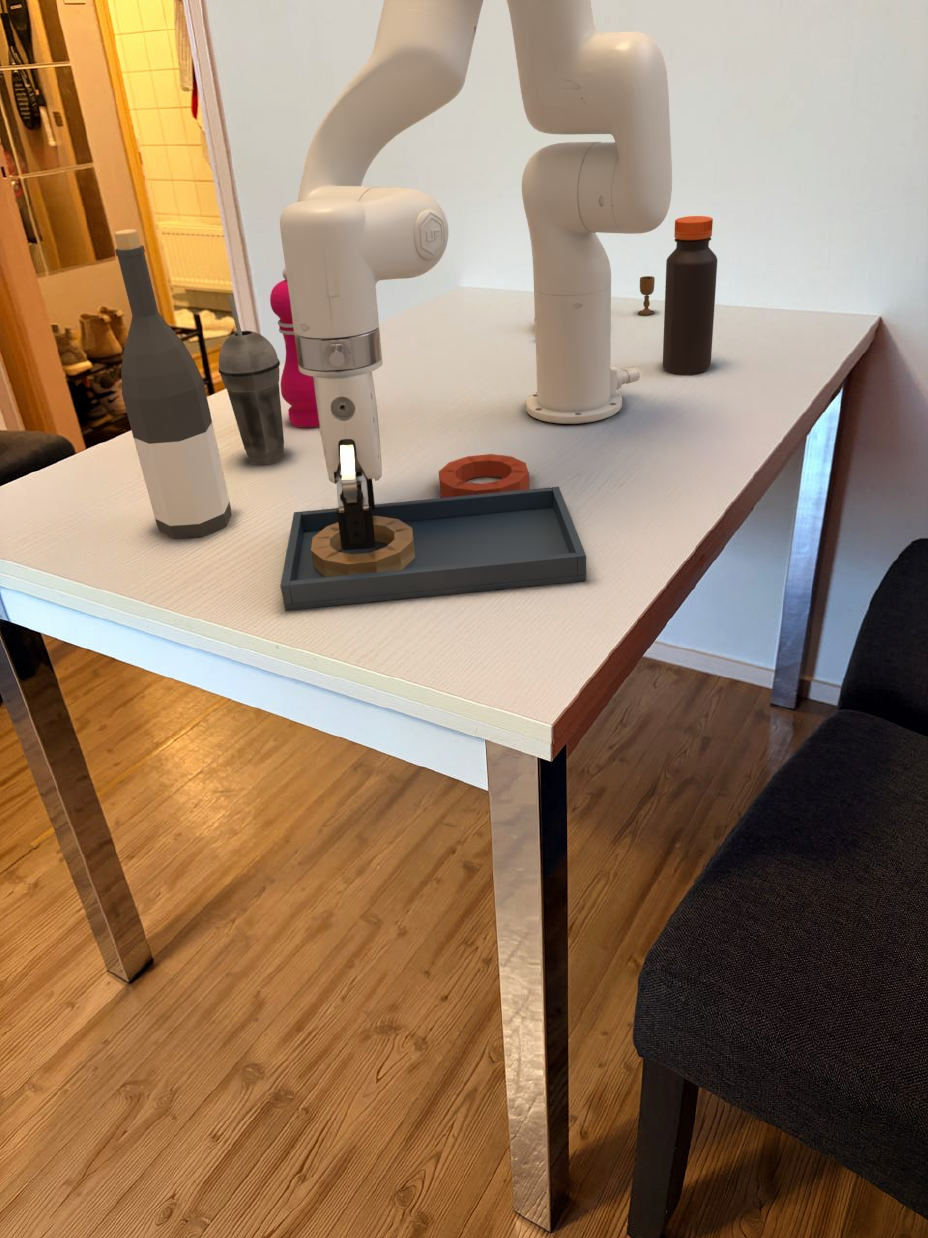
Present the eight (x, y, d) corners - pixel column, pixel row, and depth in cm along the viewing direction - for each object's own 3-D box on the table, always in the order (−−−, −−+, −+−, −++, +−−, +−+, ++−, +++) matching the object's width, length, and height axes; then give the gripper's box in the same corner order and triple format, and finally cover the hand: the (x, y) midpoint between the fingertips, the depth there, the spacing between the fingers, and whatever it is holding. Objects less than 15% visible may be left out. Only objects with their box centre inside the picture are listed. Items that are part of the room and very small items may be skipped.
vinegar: (695, 357, 141) (703, 212, 131) (719, 370, 136) (730, 219, 125) (653, 365, 140) (658, 218, 129) (676, 378, 134) (683, 226, 123)
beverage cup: (306, 448, 121) (278, 285, 111) (278, 470, 115) (246, 301, 105) (255, 445, 123) (224, 285, 113) (226, 467, 118) (190, 300, 107)
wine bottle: (163, 546, 100) (83, 243, 84) (153, 517, 106) (76, 231, 91) (240, 528, 103) (176, 230, 87) (225, 500, 109) (162, 219, 93)
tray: (559, 508, 101) (559, 486, 100) (586, 580, 88) (586, 555, 86) (297, 534, 100) (293, 511, 99) (285, 610, 87) (280, 585, 86)
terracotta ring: (522, 466, 111) (521, 450, 110) (533, 501, 103) (533, 484, 102) (438, 475, 111) (436, 458, 110) (443, 510, 103) (441, 493, 101)
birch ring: (413, 529, 98) (411, 512, 97) (416, 575, 89) (414, 557, 88) (317, 539, 98) (314, 521, 96) (311, 586, 89) (308, 567, 88)
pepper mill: (330, 429, 126) (306, 272, 116) (278, 429, 128) (250, 273, 117) (346, 410, 132) (325, 259, 122) (297, 410, 134) (272, 260, 123)
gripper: (382, 373, 78) (399, 564, 87) (380, 325, 93) (395, 492, 102) (290, 379, 78) (316, 571, 86) (302, 330, 93) (324, 498, 102)
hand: (359, 528), depth 94 cm, fingers open, 8 cm apart
